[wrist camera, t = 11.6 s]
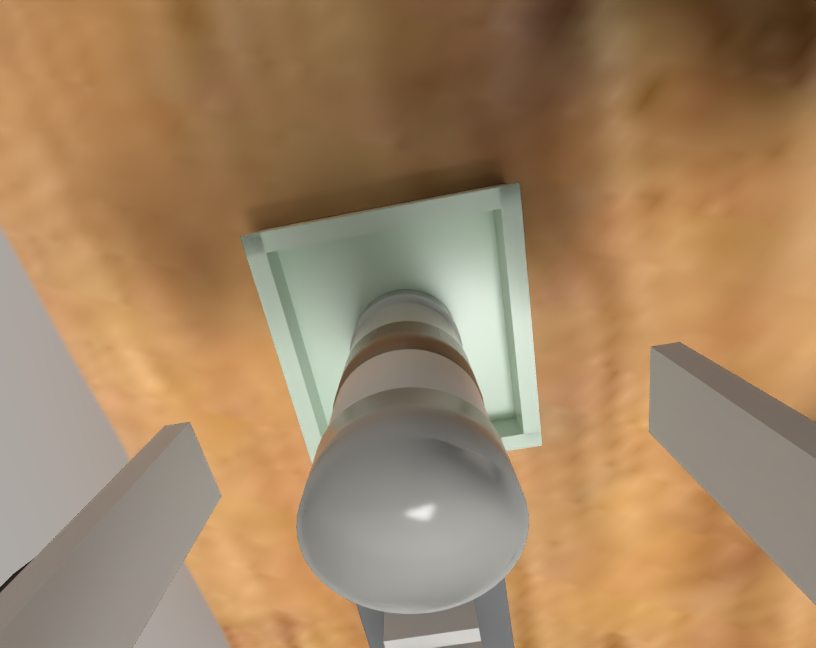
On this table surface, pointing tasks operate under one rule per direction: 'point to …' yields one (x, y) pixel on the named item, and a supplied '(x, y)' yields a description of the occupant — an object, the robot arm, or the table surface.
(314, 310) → the parts tray
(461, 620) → the fuse block
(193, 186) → the table surface
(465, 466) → the cylinder
